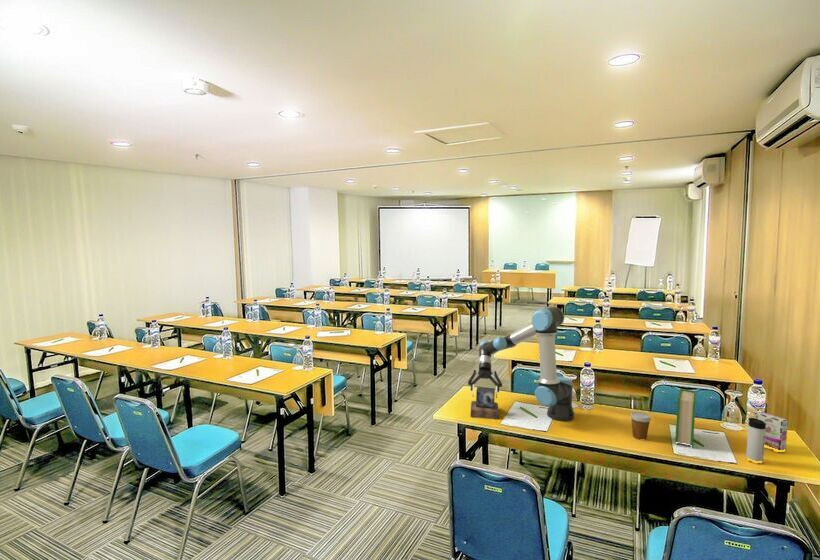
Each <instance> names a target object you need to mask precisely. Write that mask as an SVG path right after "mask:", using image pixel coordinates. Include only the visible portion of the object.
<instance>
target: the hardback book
mask: <svg viewBox="0 0 820 560" xmlns="http://www.w3.org/2000/svg"><path fill="white" fill-rule="evenodd" d="M696 404H697V391H696V390H689V389H685V388H679V392H678V397H677V407H676V423H675V424H676V425H675V438H674V439H675V441H674V443H675V442H680V443H686V444H690V445H692V446H693V447H694V438H693V437H694V435H695V422H696V419H695V418H696Z"/></svg>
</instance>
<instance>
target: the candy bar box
mask: <svg viewBox="0 0 820 560" xmlns="http://www.w3.org/2000/svg"><path fill="white" fill-rule="evenodd" d="M756 419H759V420H761V421H764V422H765V423H766V432H765V445H767V446H769V447H772V448H775V449H778V450H784V449H787V434H788V424H789V420H788V419H786V418H783V417H780V416H776V415H774V414H771V413H767V412H764V411H761V412H757V413H756Z"/></svg>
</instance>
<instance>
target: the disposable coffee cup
mask: <svg viewBox="0 0 820 560" xmlns="http://www.w3.org/2000/svg"><path fill="white" fill-rule="evenodd" d="M629 415H630V416H629V417H630V419H631V429H632V437H633V438H634V437H635V439H636V438H638V439H637V440H640V439H645V440H647V437H648V432H649V428H650V424H651V423H650V422H651V421H652V418H651V416H650V414H648V413H645V412H641V411H633V412H631V414H629Z"/></svg>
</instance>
